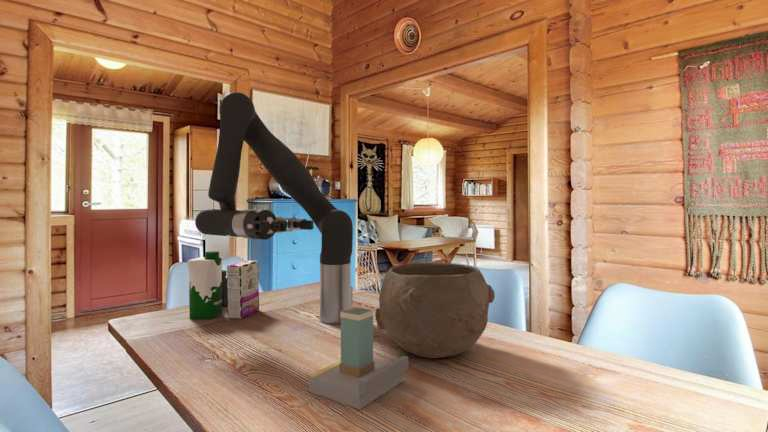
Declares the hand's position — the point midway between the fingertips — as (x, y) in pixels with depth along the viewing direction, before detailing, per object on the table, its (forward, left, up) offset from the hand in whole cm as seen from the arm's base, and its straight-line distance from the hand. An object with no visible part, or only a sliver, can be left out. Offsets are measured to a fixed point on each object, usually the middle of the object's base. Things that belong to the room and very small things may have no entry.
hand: (299, 226), depth 97 cm
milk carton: (-6, -48, -30) cm, 57 cm away
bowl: (-19, +25, -30) cm, 44 cm away
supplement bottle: (-16, -56, -30) cm, 66 cm away
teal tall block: (+6, +22, -27) cm, 35 cm away
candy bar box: (-14, -40, -30) cm, 52 cm away
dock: (+6, +22, -30) cm, 38 cm away
